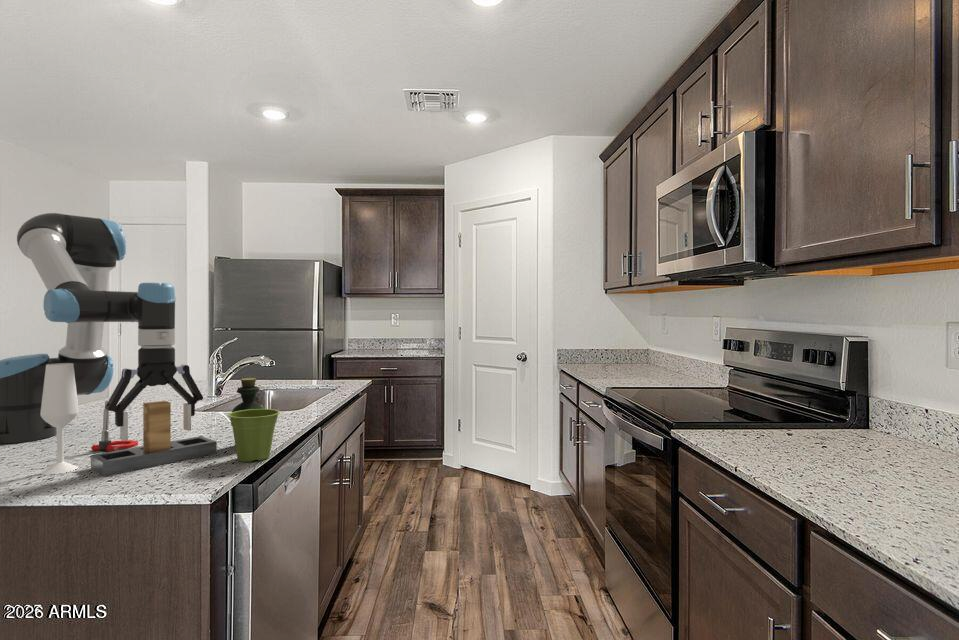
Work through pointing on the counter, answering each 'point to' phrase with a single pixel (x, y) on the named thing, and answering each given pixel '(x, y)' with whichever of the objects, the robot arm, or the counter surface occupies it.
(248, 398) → the potion bottle
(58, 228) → the robot arm
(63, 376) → the champagne flute
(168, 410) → the ochre peg
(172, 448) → the grey slotted tray
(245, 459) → the plant pot
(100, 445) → the tow hook
